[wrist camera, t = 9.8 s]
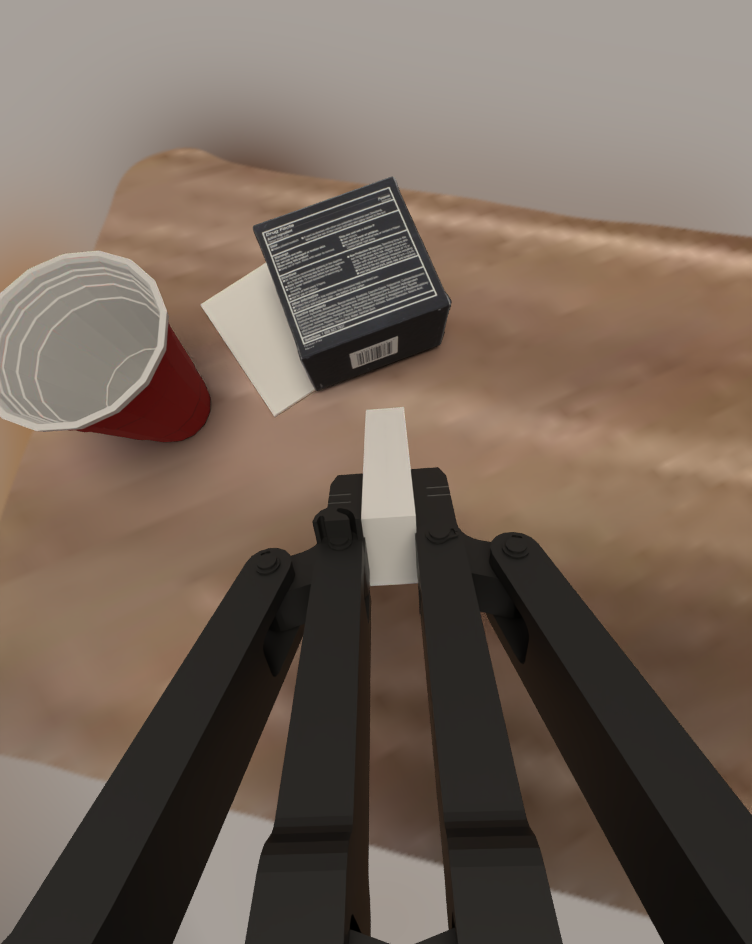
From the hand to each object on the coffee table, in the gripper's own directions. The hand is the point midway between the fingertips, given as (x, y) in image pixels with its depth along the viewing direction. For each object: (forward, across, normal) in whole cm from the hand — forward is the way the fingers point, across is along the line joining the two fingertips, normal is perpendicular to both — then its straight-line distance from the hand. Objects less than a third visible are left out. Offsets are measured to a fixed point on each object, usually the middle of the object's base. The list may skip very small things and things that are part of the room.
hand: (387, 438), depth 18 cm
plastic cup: (+17, -17, -5) cm, 24 cm away
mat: (+21, -6, 0) cm, 22 cm away
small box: (+15, 0, -2) cm, 15 cm away
